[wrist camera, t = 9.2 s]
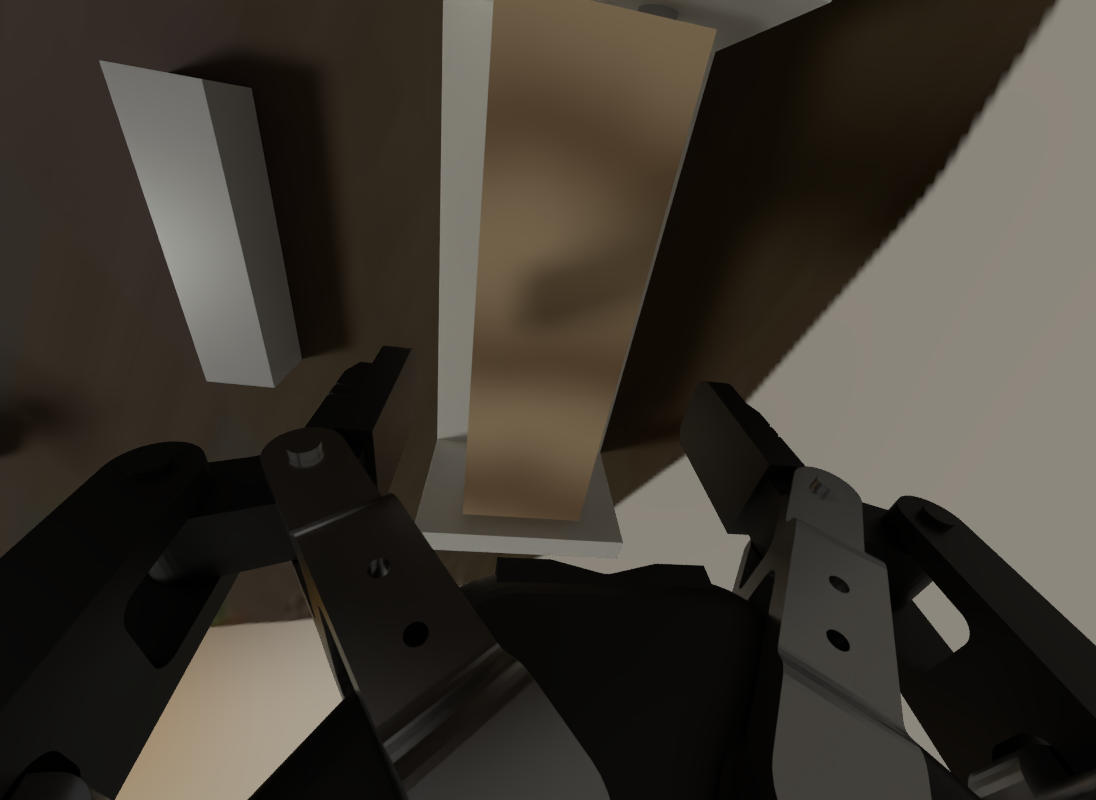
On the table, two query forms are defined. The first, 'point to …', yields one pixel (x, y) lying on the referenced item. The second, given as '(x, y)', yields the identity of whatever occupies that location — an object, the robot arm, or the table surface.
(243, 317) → the block
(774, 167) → the table surface
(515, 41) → the shelf board
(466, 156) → the shelf frame
